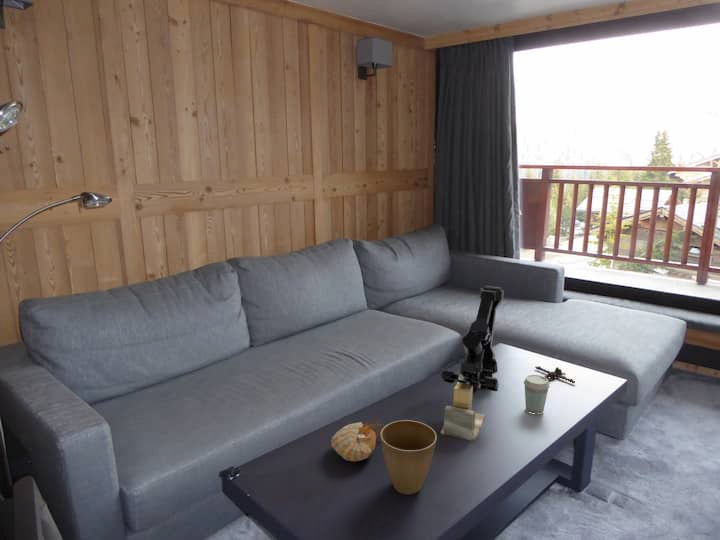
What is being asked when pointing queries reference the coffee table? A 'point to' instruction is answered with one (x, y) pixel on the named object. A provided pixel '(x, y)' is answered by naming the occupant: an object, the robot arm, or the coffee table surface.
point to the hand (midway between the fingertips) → (464, 404)
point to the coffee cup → (535, 393)
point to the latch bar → (463, 396)
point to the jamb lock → (462, 423)
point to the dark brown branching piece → (554, 374)
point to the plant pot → (408, 453)
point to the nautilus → (355, 441)
